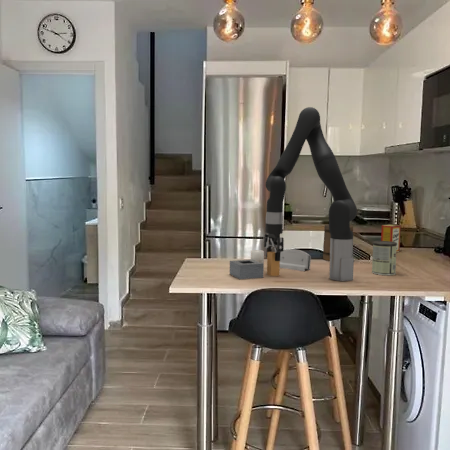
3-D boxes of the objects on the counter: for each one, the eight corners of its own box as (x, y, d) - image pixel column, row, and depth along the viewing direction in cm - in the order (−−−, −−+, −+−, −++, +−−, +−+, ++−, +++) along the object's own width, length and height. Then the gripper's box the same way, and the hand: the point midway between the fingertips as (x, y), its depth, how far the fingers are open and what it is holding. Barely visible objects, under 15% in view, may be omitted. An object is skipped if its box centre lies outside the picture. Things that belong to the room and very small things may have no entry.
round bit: (265, 271, 216) (266, 251, 215) (253, 272, 214) (254, 252, 213) (260, 268, 222) (260, 249, 221) (248, 269, 220) (248, 250, 219)
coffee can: (371, 270, 220) (372, 240, 219) (395, 271, 217) (396, 241, 216) (371, 274, 210) (372, 243, 209) (396, 276, 207) (397, 244, 206)
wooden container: (355, 262, 243) (357, 219, 241) (327, 262, 242) (328, 219, 240) (346, 257, 257) (348, 216, 255) (319, 257, 257) (321, 216, 255)
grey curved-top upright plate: (274, 266, 227) (278, 246, 229) (279, 268, 231) (283, 249, 232) (304, 271, 216) (309, 250, 218) (309, 273, 220) (313, 252, 222)
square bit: (279, 275, 206) (279, 252, 206) (271, 276, 205) (271, 253, 204) (275, 273, 210) (275, 251, 209) (266, 274, 209) (267, 251, 208)
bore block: (263, 277, 202) (263, 263, 201) (239, 279, 198) (239, 265, 197) (252, 272, 212) (252, 259, 212) (229, 274, 208) (229, 260, 207)
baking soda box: (390, 253, 273) (392, 225, 272) (380, 251, 278) (381, 224, 277) (399, 251, 279) (400, 224, 278) (389, 250, 284) (390, 223, 283)
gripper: (289, 224, 201) (288, 261, 203) (274, 220, 214) (273, 256, 216) (273, 224, 198) (272, 262, 200) (259, 220, 211) (258, 256, 213)
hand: (273, 259), depth 208 cm, fingers open, 8 cm apart
